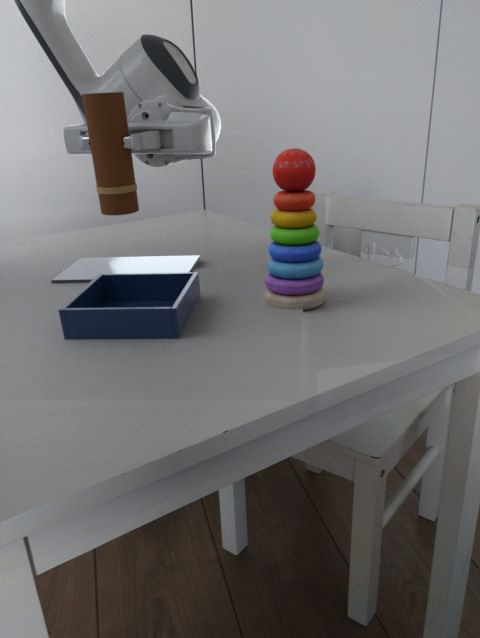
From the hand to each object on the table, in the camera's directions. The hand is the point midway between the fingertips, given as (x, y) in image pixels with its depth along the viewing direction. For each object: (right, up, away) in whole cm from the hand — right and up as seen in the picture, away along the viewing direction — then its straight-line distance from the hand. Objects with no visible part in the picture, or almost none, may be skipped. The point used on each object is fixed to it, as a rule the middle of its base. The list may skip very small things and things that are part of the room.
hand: (106, 143), depth 69 cm
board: (-2, -13, +19) cm, 23 cm away
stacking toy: (+23, -19, +4) cm, 30 cm away
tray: (+4, -22, 0) cm, 22 cm away
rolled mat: (+1, -7, +4) cm, 8 cm away
